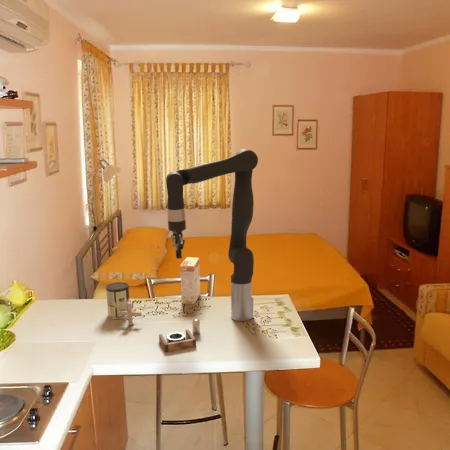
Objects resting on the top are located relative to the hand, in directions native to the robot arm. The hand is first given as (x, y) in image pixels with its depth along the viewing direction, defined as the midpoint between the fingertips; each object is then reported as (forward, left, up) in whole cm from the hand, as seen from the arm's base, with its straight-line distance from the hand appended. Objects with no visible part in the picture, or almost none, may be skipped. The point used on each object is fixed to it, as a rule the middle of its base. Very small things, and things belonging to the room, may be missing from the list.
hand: (178, 258), depth 207 cm
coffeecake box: (-12, -25, -29) cm, 40 cm away
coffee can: (+25, -18, -29) cm, 42 cm away
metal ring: (+8, +21, -29) cm, 37 cm away
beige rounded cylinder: (-2, +15, -29) cm, 33 cm away
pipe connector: (+22, -5, -29) cm, 37 cm away
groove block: (+8, +21, -29) cm, 37 cm away
